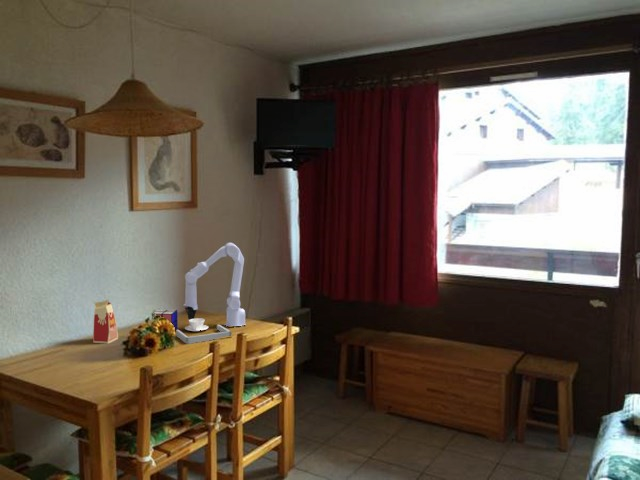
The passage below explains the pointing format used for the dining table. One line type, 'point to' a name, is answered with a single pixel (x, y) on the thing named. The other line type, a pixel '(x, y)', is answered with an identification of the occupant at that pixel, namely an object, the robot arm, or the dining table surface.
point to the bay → (205, 337)
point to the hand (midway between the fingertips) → (191, 320)
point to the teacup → (196, 324)
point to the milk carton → (104, 323)
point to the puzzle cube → (168, 316)
